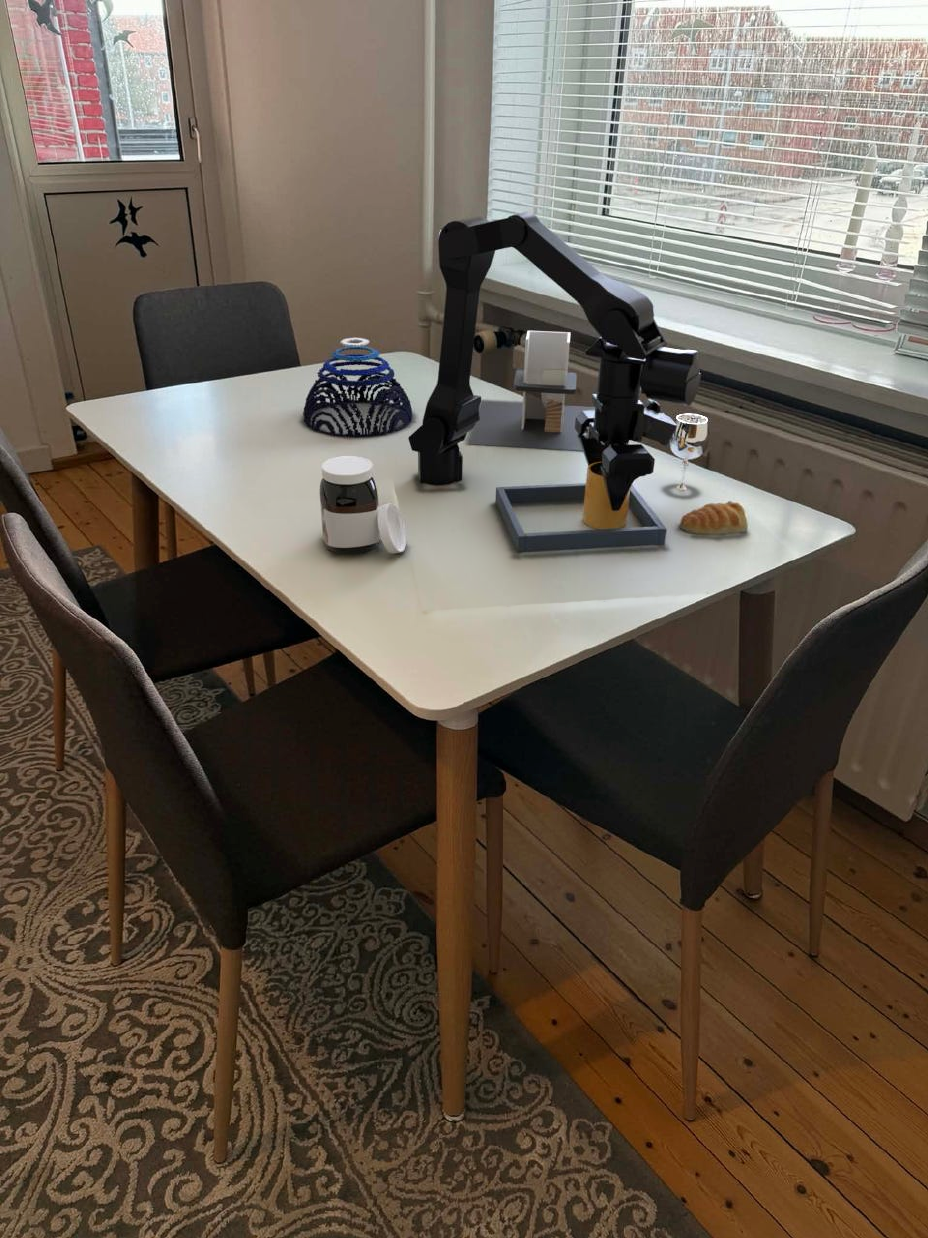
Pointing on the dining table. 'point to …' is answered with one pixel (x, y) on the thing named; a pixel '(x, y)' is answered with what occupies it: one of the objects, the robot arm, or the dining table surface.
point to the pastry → (715, 519)
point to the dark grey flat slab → (535, 400)
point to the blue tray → (582, 538)
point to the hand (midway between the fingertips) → (606, 497)
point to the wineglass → (689, 440)
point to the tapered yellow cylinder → (601, 502)
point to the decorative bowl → (362, 382)
